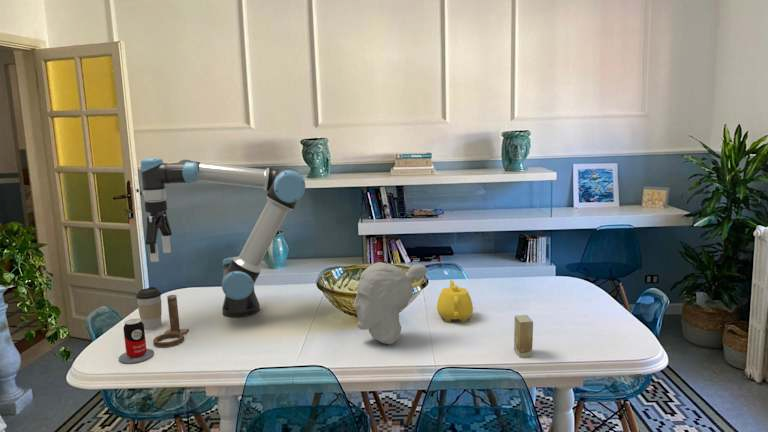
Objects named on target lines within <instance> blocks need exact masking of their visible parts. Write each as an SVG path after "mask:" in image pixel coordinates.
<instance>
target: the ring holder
mask: <svg viewBox="0 0 768 432" xmlns="http://www.w3.org/2000/svg"><path fill="white" fill-rule="evenodd" d="M166 298H167V299H166V300H167V308H168V318H169V326H170V327H169V328H170V329H166V330H165V331H164V332H163V333H162V334H160V335H157V336H155V338H153V339H152V342H153V346H154V347H155V348H156V347H157V348H159V349H160V348H161V349H163V348H164V349H165V348H166V349H167V348H172V347H175V346H179V345H181V344H183V342H185V336H186V335H187V334H188V332H189V330H190V329H189V328H180V326H181V325H180V319H179V318H180V317H179V309H178V307H179V306H178V297H177V295H176V294H169V295H167V296H166ZM172 338H174V339H175V338H176V339H175V340H171V341H163V340H165V339H172Z"/></svg>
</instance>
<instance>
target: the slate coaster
mask: <svg viewBox="0 0 768 432" xmlns="http://www.w3.org/2000/svg"><path fill="white" fill-rule="evenodd" d="M146 349H147V351H146V353H145V354H144V355H143V356H140V357H136V358H131V357H129V356H127V354H126V352H124V353H122V354H121V355H119V357H118V362H119V363H121V364H124V365H131V364H133V365H134V364H140V363H143V362H145V361H149V360H150V359H152V358H153V357H154V356H155V352H154V350H153V349H151V348H146Z"/></svg>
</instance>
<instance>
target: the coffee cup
mask: <svg viewBox="0 0 768 432" xmlns="http://www.w3.org/2000/svg"><path fill="white" fill-rule="evenodd" d="M161 295H162V292H161V290H158V288H157V287H155V286H150V287H148V288H146V287H145V288H143V289H140V290H138V292H136V294H135V298H136V301H137V308H138V315H139V319H141V322H142V323H143V324H144V330H148V331H151V330H155V329H156V330H157V329H159V328H160V327H161V326H162V315H163V314H162V296H161Z"/></svg>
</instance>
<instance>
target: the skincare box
mask: <svg viewBox="0 0 768 432" xmlns="http://www.w3.org/2000/svg"><path fill="white" fill-rule="evenodd" d="M513 328H514V333H513V334H514V335H513V336H514V337H513V351H514V352H515V353H516V355H517V356H518V357H519V358H532V357H533V340H534V339H533V336H534V335H533V334H534V321H533V320H532V319H531V317H529V315H528V314H522V315H518V314H517V315H514V327H513Z"/></svg>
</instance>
